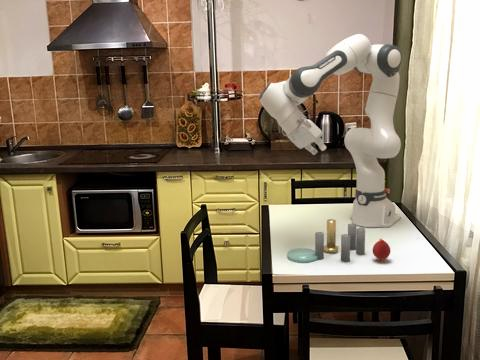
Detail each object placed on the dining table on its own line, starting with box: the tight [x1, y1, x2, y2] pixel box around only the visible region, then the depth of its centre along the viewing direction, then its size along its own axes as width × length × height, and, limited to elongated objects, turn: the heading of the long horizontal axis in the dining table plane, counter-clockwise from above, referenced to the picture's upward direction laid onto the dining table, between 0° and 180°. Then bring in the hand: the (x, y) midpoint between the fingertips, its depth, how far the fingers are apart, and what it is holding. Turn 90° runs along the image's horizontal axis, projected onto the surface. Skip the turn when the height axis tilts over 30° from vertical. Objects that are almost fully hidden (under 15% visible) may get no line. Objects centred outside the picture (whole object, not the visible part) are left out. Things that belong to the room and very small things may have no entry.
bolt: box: [324, 218, 339, 255], centre depth 191 cm, size 5×5×12 cm
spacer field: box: [314, 223, 366, 263], centre depth 188 cm, size 18×11×9 cm, turn 134°
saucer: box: [286, 247, 318, 264], centre depth 188 cm, size 11×11×1 cm
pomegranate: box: [372, 237, 391, 262], centre depth 182 cm, size 6×6×8 cm
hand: (320, 151), depth 191 cm, fingers open, 8 cm apart
